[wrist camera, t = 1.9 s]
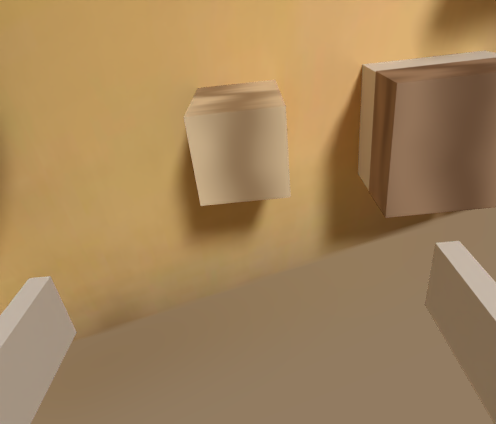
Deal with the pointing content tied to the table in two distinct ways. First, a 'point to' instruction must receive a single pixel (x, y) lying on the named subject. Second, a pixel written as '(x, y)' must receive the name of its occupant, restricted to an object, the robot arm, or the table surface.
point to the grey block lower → (369, 92)
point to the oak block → (239, 142)
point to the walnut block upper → (434, 138)
